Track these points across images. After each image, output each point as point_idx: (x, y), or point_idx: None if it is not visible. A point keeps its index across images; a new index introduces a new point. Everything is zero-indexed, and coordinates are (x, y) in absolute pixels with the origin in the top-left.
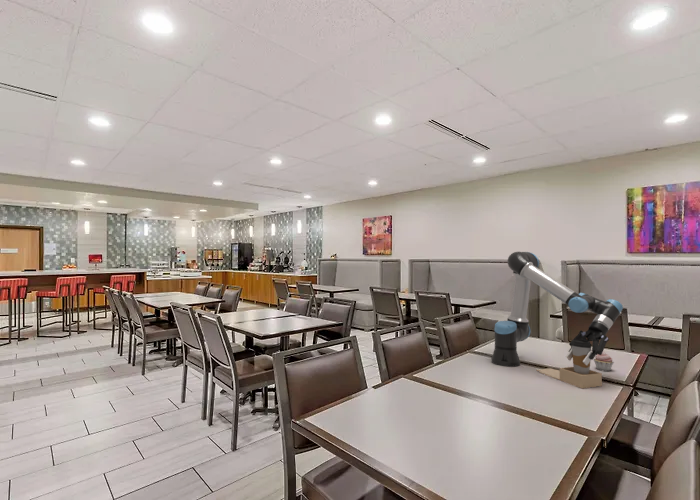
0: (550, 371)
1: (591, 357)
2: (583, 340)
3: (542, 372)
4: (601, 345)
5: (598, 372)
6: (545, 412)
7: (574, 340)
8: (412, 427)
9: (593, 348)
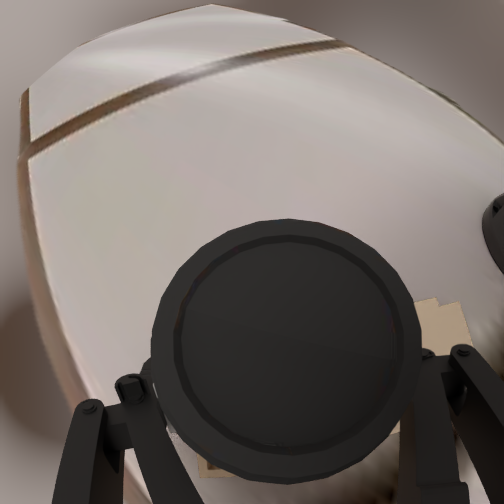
0: (441, 352)
1: (145, 363)
2: (356, 435)
3: (424, 302)
4: (61, 476)
5: (222, 476)
6: (108, 123)
7: (377, 286)
8: (160, 31)
9: (144, 420)
